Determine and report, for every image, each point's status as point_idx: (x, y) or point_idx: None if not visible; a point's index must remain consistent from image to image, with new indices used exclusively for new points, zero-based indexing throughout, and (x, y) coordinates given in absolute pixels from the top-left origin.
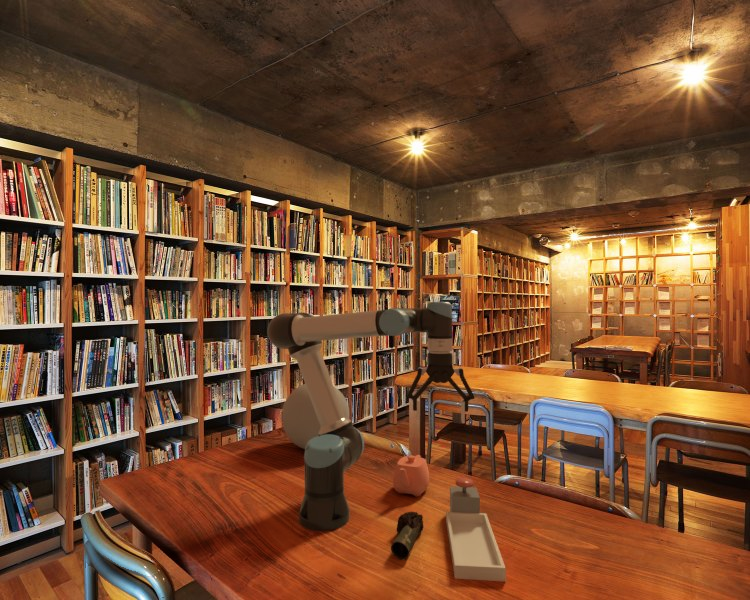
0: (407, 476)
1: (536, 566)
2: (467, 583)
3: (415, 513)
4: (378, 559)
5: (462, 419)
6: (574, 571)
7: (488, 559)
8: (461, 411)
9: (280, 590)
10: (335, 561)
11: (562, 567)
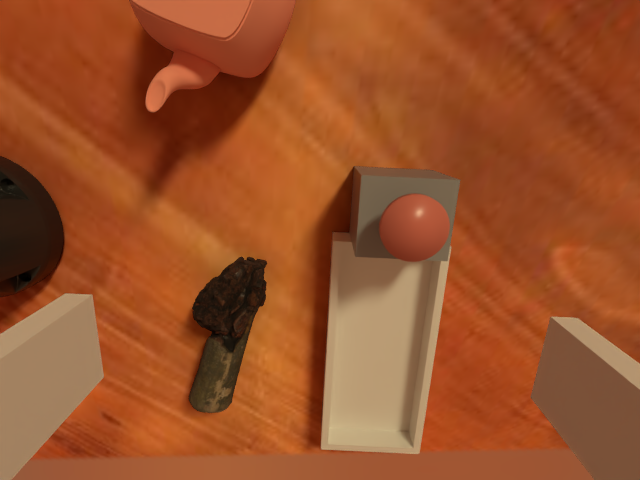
0: (195, 52)
1: (492, 386)
2: None
3: (237, 306)
4: (172, 374)
5: (555, 427)
6: None
7: (399, 386)
8: (630, 420)
9: None
10: None
11: None
